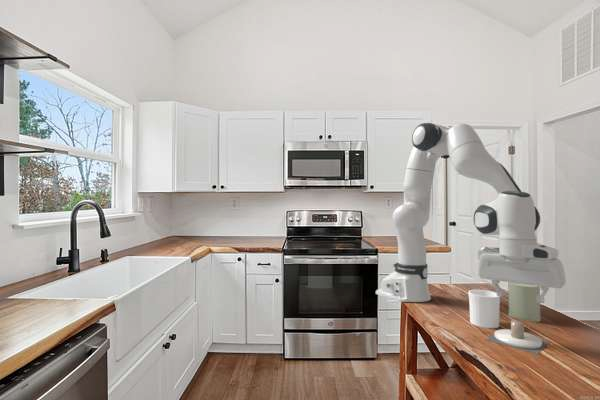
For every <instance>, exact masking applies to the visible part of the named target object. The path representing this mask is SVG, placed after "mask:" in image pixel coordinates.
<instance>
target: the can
mask: <svg viewBox="0 0 600 400" xmlns="http://www.w3.org/2000/svg"><path fill="white" fill-rule="evenodd" d="M507 285H508V286H507V289H508V313H507V315H508V317H509V318H515V319H518V320H523V321H527V322H532V323H537V322H541V321H542V318H541V303H538V302H536V300H537V299H536V296H537V295H541V286H536V285H528V284H521V283H513V282H507Z"/></svg>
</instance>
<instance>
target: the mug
mask: <svg viewBox="0 0 600 400" xmlns="http://www.w3.org/2000/svg"><path fill="white" fill-rule="evenodd" d="M467 294H468V301H469V303H468V305H469V321H470V324H472V325H473V326H476V327H479V328H484V329H498V328H499V327H500V301H501V296H497V291H496V292H495V291H491V290H485V289H471V290H468V293H467Z"/></svg>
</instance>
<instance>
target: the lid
mask: <svg viewBox="0 0 600 400" xmlns="http://www.w3.org/2000/svg"><path fill="white" fill-rule="evenodd" d="M501 329H502V330H500V329H498V330H497V329H496V330H495V331H494V334H495V339H496V340H498V341H499V342H501V343H504V344H506V345H509V346H513V347H517V348H523V349H538V348H541V347H542V340H541V339H542V338H540V337H539V336H537V335H534V334H532V333H530V332H526V331H525V322H523V321H520V320H514V319H513V320H510V329H509V328H505V329H503V328H501ZM509 346H508V347H509ZM513 347H512V348H513Z"/></svg>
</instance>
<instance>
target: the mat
mask: <svg viewBox="0 0 600 400" xmlns="http://www.w3.org/2000/svg"><path fill="white" fill-rule="evenodd" d="M502 329H503V328H500V329H499V330H502ZM540 339H541V340H542V347H541V348H538V349H523V348H517V347H513V346H509V345H506V344H504V343H501V342H499V341H498V340H496V339H495V333H493V334H492V335H490V336H489V337H488V338H486V339H485V340H486V341H489V342H491V343H495V344H498V345H503V346H506V347H509V348H513V349H515V350H516V349H518V350H520V351H524V352H528V353H531V354H535V355H539V354H540V353H541V352H542V350H543V349H544V348H545V347H547V345H548V344H549V343H550V340H546V339H543V338H540Z"/></svg>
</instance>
